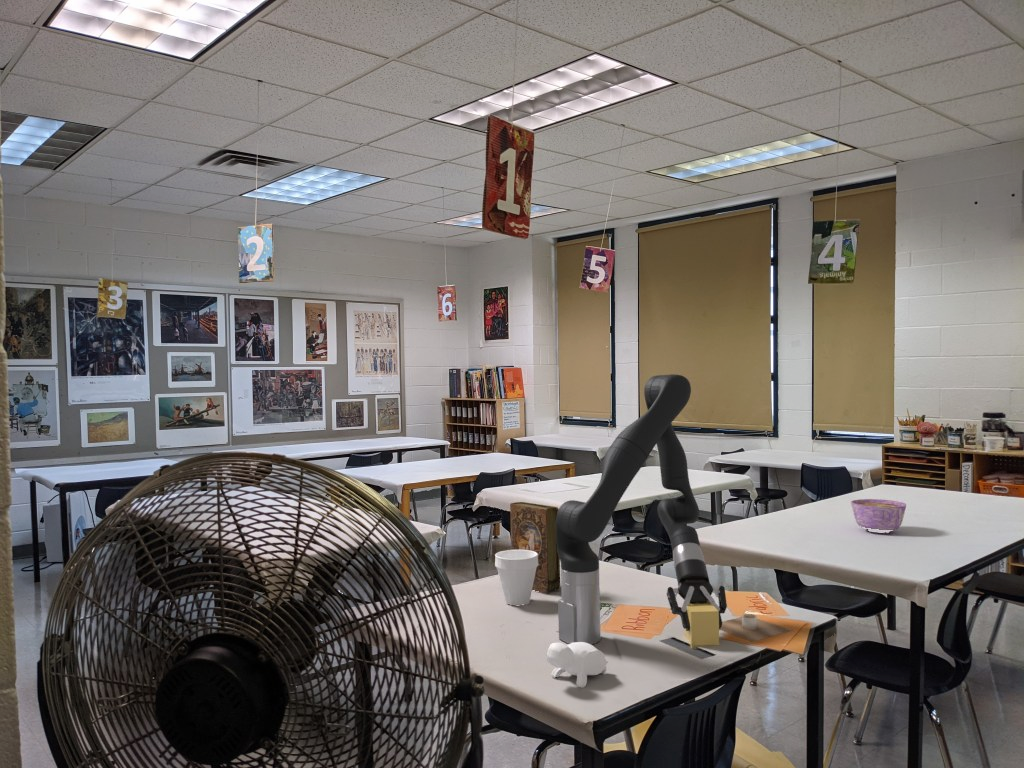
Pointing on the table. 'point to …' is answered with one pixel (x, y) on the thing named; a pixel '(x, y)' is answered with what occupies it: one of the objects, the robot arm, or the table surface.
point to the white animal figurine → (576, 660)
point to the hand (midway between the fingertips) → (703, 628)
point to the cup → (516, 574)
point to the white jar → (749, 622)
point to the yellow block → (702, 625)
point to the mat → (687, 648)
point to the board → (761, 632)
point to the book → (537, 541)
